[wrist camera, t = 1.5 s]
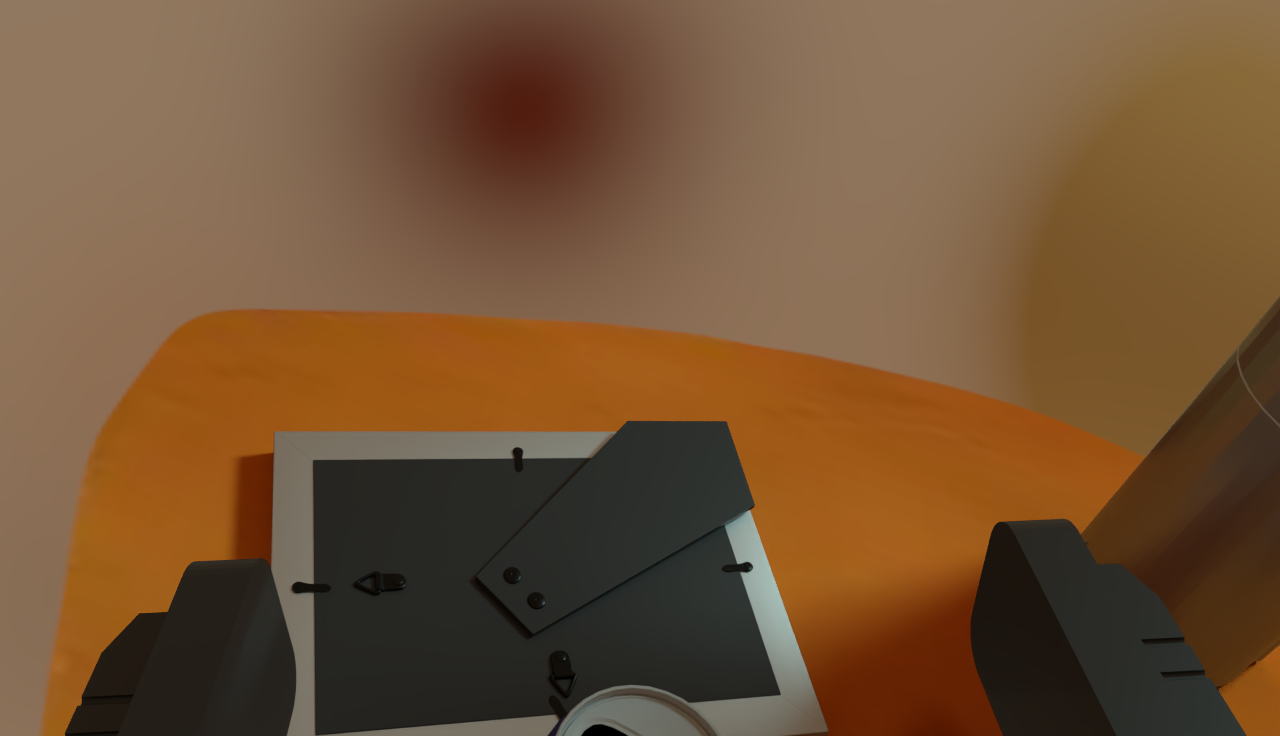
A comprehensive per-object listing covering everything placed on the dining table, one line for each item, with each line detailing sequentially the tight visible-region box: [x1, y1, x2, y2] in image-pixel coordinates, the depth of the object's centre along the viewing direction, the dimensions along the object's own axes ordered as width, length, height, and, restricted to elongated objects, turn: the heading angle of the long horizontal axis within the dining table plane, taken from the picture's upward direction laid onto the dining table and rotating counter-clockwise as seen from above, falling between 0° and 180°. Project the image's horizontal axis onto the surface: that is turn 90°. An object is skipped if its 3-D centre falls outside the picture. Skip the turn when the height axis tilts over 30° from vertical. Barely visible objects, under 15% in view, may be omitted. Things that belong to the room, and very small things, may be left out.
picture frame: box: [271, 421, 829, 736], centre depth 44 cm, size 16×3×21 cm
